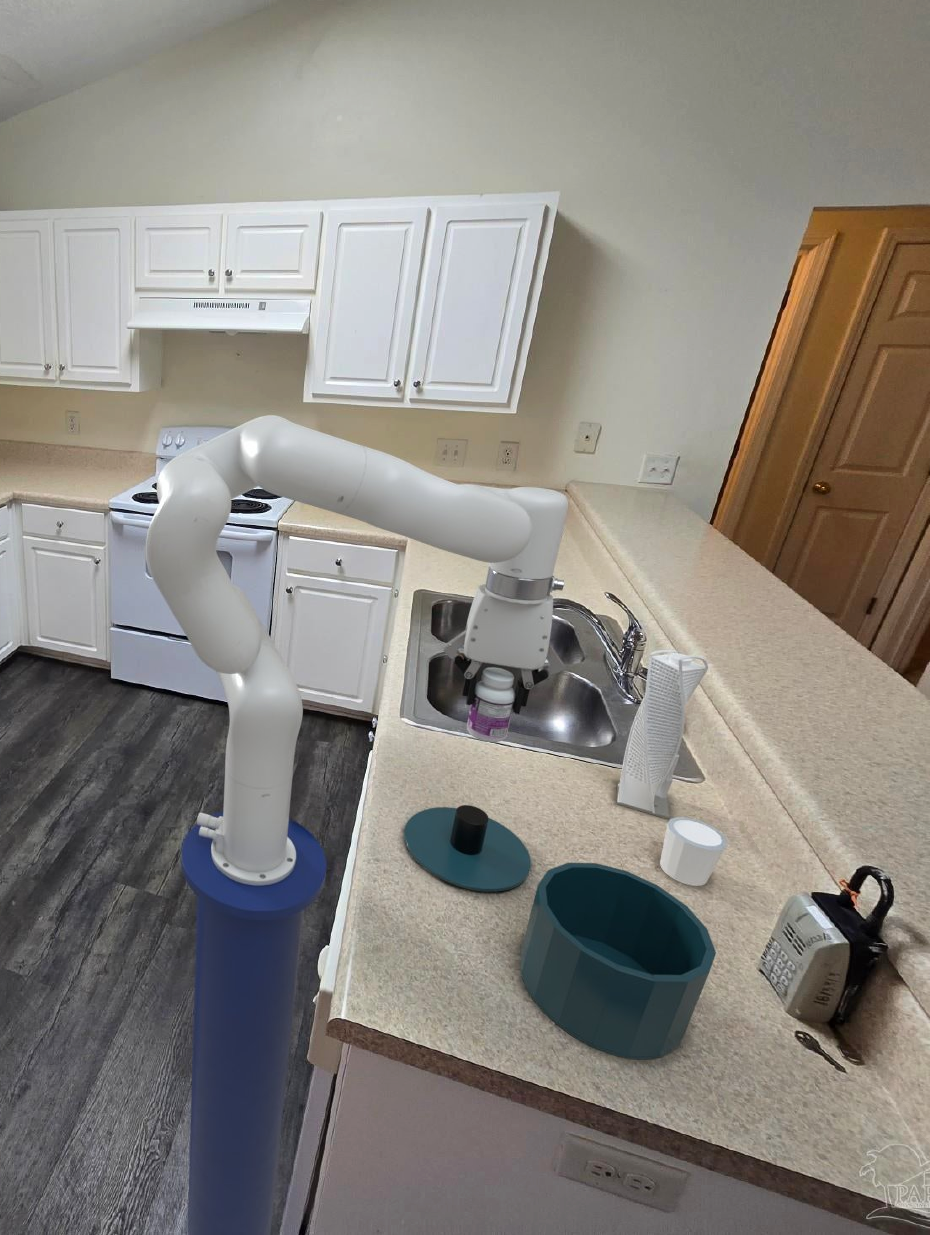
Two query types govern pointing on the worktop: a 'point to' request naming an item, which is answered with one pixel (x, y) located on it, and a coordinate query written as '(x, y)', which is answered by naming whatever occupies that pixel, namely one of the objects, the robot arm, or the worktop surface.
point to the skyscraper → (658, 732)
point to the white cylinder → (691, 850)
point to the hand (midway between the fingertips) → (492, 703)
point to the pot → (614, 959)
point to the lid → (467, 848)
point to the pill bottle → (492, 705)
